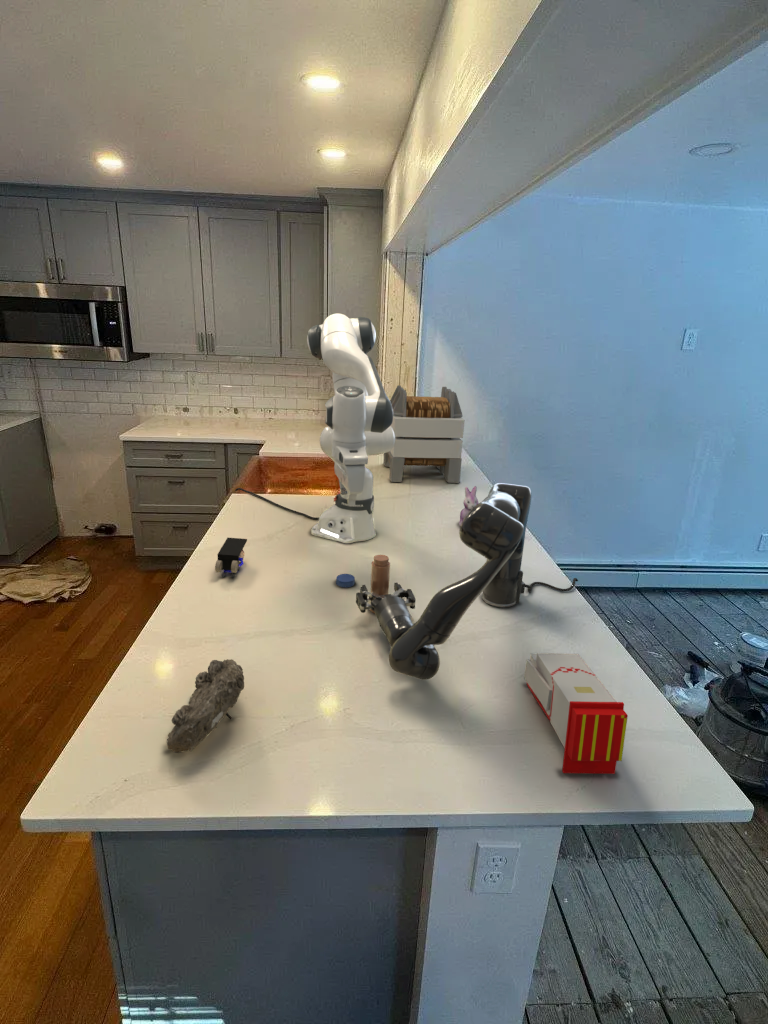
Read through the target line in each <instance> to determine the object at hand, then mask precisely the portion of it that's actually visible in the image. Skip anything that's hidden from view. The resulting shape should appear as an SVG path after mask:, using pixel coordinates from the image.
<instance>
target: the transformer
mask: <svg viewBox="0 0 768 1024" xmlns="http://www.w3.org/2000/svg"><path fill="white" fill-rule="evenodd" d="M440 393H441V394H440V396H415V395H414V396H413V395H412V396H411V395H407V394H408V393H407V390H406V389H404V388H403V387H402V385H399V384H398V385H397V386H396V388H395V390H394V392H393V394H392V395H391V398H390V399H389V400H390V402H391V405H392V408H393V421H392V424H391V427H392V429H393V431H394V433H395V444H394V446H393V448H392V450H391V451H389V452H386V453H383V466H384V467H388V468H389V475H388V476H389V477H388V478H389V480H390V482H391V483H402V482H403V475H404V469H405V466H406V467H407V466H411V467H412V466H413V467H415V466H416V467H417V466H418V467H436V468H437V470H438V469H439V473H440V474H441V475H443V478H444V479H445V481H446V482H447V483H449V484H455V483H456V484H459V483H461V472H462V461H463V460H462V453H463V442H464V441H463V440H462V439H463V438H464V431H465V430H464V429H465V419H464V418H463V411H462V408H461V405H460V402H459V398H458V395H457V392H455V391H453V390H452V389H451V388H447V386H442V387H441V392H440Z"/></svg>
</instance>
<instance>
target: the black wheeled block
mask: <svg viewBox="0 0 768 1024" xmlns="http://www.w3.org/2000/svg"><path fill="white" fill-rule="evenodd" d="M247 542H248V538H240V537H226V539H225V541H224V543H223V544H222V546H221V547H220V549H219V551H218V552H217V560H216V562H215V564H214V572H215V573H221V577H222V578H224V577H225V576H226V574H227V573H230V574H231V573H232V574H231V578H234V577H235V575H236V573H237V572H239V571H240V567H242V566H243V565H244V564H245V562H244V558H245V551H244V547H245V546H246V544H247Z"/></svg>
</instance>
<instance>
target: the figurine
mask: <svg viewBox="0 0 768 1024" xmlns="http://www.w3.org/2000/svg"><path fill="white" fill-rule="evenodd" d="M477 490H478V488H477V486H476V485H475V486H473V488H472V489H471V491H470V489H469V487H468V486H465V487H464V494H465V495H464V496H465V497H464V499H463V502H462V503H463V507H464V508H463V509H462V510H461V511H460V514H459V522H458V525H459V527H461V524H462V522H463V520H464V518H465V517H466V515H467V514H468V513H469V511H470V510H471V509H472V508H473V507H474V506H476V505H477V504H479V503H480V502H479V500H478V497H477V492H478V491H477Z"/></svg>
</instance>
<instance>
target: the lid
mask: <svg viewBox="0 0 768 1024" xmlns="http://www.w3.org/2000/svg"><path fill="white" fill-rule="evenodd" d="M355 578H356V577H355V576H354V575H353V574H350V573H340V574H339V575H337V576H336V577H335V584H336V586H338V587H340V588H351V587H353V586H354V585H355V584H356V579H355Z"/></svg>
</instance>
